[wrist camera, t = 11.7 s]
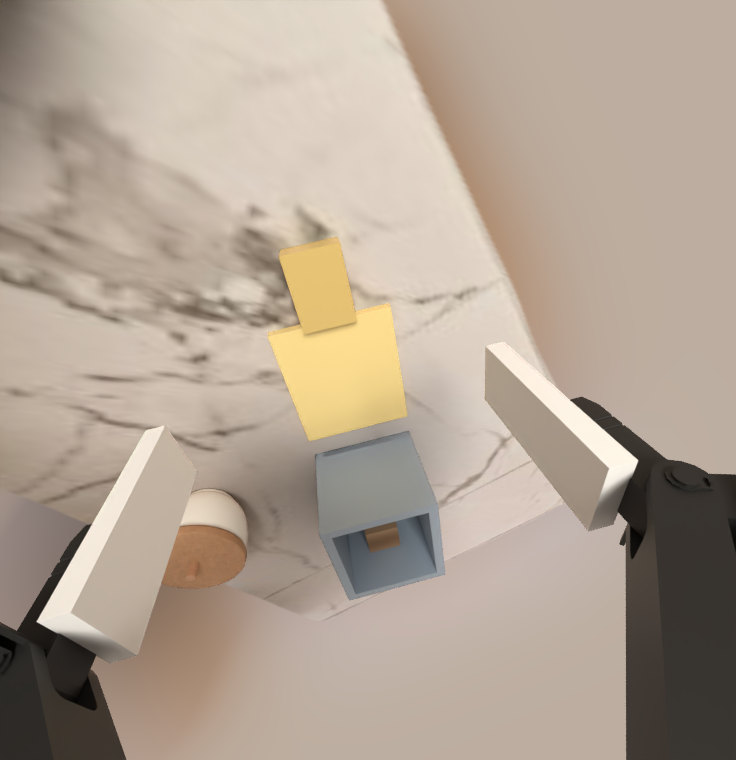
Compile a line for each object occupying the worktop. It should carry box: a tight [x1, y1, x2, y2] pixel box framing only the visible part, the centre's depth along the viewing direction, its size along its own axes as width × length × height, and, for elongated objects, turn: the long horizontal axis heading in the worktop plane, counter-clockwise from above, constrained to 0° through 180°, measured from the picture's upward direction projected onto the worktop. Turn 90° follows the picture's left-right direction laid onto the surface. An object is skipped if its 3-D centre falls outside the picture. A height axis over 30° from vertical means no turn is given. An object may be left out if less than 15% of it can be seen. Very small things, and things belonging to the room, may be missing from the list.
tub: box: [315, 431, 445, 600], centre depth 42 cm, size 14×12×11 cm
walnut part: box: [365, 521, 400, 553], centre depth 45 cm, size 4×4×6 cm
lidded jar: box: [161, 489, 248, 589], centre depth 40 cm, size 11×11×9 cm
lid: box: [268, 237, 407, 441], centre depth 34 cm, size 21×12×2 cm, turn 11°
